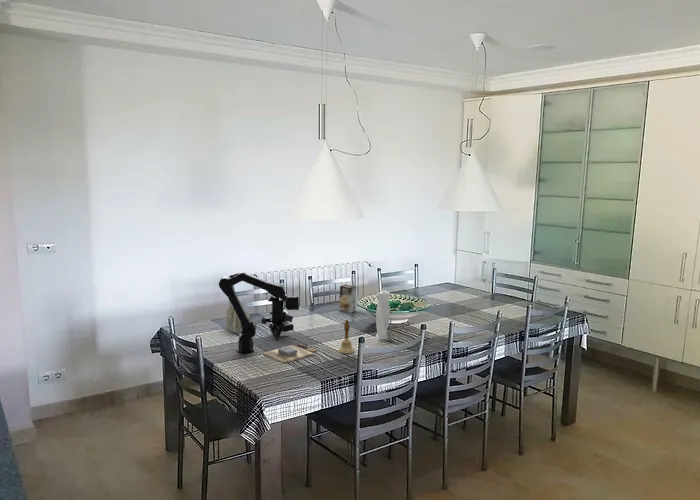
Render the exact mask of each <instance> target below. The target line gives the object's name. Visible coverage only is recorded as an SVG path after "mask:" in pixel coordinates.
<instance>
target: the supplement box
mask: <svg viewBox="0 0 700 500" xmlns="http://www.w3.org/2000/svg"><path fill="white" fill-rule="evenodd" d="M284 312H286V314H287V315H290V313H289V312H288V310H287V309H284ZM283 323H284V322H283ZM285 323H290V322H288V321H286V322H285ZM288 336H289V331H287V332H283V331H282V332H281V335H280V337H288Z"/></svg>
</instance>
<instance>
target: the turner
mask: <svg viewBox="0 0 700 500" xmlns="http://www.w3.org/2000/svg"><path fill="white" fill-rule="evenodd" d="M297 345H298V346H299V347H300V348H301V347H302V348H303V349H305V350H307V351H309V352H312V353H316V352H318V349H316V348H313V347H309V346H306V345H304V344H301V343H298V344H297Z"/></svg>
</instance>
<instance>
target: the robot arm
mask: <svg viewBox="0 0 700 500" xmlns="http://www.w3.org/2000/svg"><path fill="white" fill-rule="evenodd" d="M241 282H244V283H246V284H249V285H251V286H254V287H257V288H259V289H261V290H264V291H266V292H267V293H268V294H269V295H270V297H268V298H267V301H268V302H271V311H269V314H270V315H268V316H264V317H262V318H261V324H262V325H266V324H267V323H268V324H269V325H268V326H267V327H268V328H269V330H270V332H271V334H272V336H273V338H274V340H275V342H277V341H279V340H280V337H281V336H280V335H281V332H282V331H283V332H287V331H288V332H291V331H294V327H295V326H294V324H293V323H292V322H293V319H294V316H293V315H290V314H289V315H287V314H286V312H284V310H286V311H299V310H300V302H299V301H300V298H299V295H294V296H293V295H292V296H291V295H290V296H288V294H287V292H286V291H285V287H284V285H283V284H281V283H278V282H273V281H267V280H265V279H262V278H260V277H257V276H254V275H252V274H250V273H247V272H245V271H242V270H241V271H240V272H238V273H233V274H231V275H223V276H222V277H221V278H220V279H219V282H218V287H219V289H220V290H221V291H222V293H223V294H224V295H225V296H226V297H227V298H228V300H229V303H231V305H232V306H233V308H234V310H235V312H236V314H237V316H238V318H239V320H240V322H241V326H242V331H241V332H240V333H239V336H238V340H237V341H238V345H237V346H238V347H237V348H238V349H235V350H236V352H238V353H239V354H242V355H246V354H250V353H253V352H255V349H254V339H253V338H254V337H255V336H256V333H257V324H256V323H255V321H254V318H253V317H252V318H251V319H249V318H250V317H249V318H248V317H247V315H246V313H245V312H246V311H245V309H244V306H243V305H242V303H241V301H240V299H239V297H238V295H237V293H236V290H235V285H236V284H239V283H241ZM286 321H288V322H289V323H285V322H286ZM283 322H284V323H283Z"/></svg>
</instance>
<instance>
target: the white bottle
mask: <svg viewBox="0 0 700 500" xmlns="http://www.w3.org/2000/svg"><path fill="white" fill-rule="evenodd" d="M378 290H379V291H380V292H378ZM376 293H377V301H378V302H377V305H376V312H375V327H376V335H375V338H376V340H378V341H379V342H389V340H392V331H393V330H392V329H393V327H392V326H393V325H392V319H391V316H390V315H391V309H390V304H389V299H390V296H391V292H390V291H389V290H384V289H381V288H376ZM387 332H388V334H387Z"/></svg>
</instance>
